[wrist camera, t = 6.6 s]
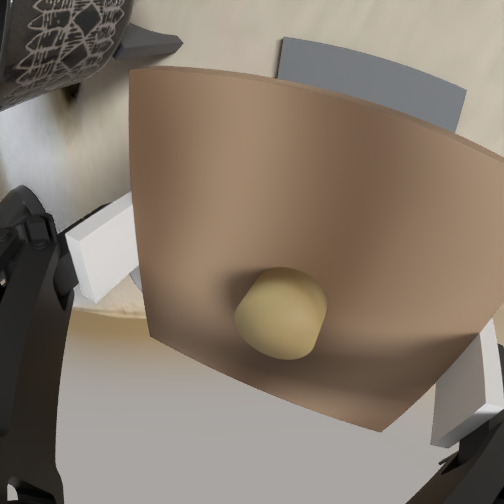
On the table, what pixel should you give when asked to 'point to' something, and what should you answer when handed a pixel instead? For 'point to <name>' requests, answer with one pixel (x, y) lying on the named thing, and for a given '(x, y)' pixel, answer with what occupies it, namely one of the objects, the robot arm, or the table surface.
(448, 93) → the mat
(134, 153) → the lid
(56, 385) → the robot arm
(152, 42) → the planter
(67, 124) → the table surface
